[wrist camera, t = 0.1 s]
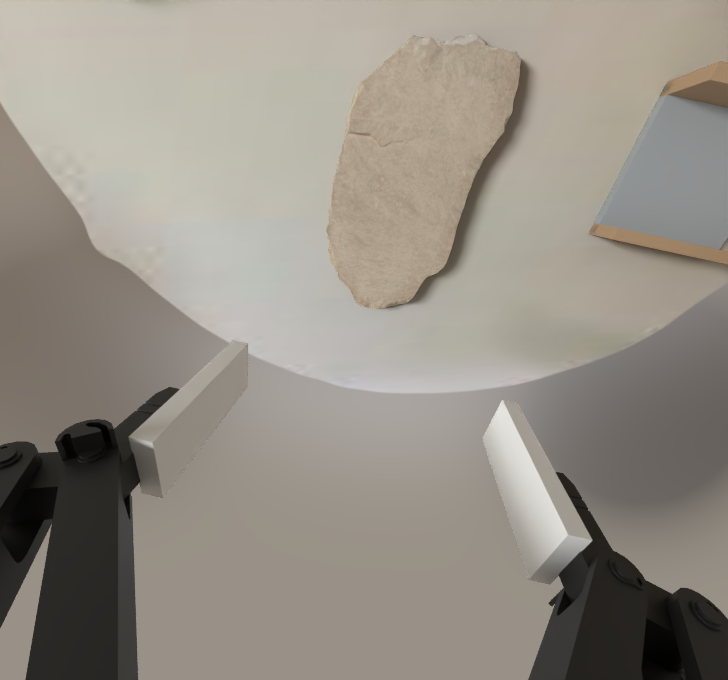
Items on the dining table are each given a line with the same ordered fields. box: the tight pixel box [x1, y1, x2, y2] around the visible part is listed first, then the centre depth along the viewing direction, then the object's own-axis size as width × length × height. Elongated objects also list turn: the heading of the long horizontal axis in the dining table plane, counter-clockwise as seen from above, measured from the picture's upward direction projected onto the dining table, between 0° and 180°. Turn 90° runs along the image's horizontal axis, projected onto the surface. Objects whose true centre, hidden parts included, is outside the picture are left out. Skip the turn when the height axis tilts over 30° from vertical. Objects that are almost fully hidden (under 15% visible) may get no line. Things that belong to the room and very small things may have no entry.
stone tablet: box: [326, 33, 521, 308], centre depth 36 cm, size 16×30×2 cm, turn 162°
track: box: [589, 61, 728, 264], centre depth 30 cm, size 14×14×6 cm
